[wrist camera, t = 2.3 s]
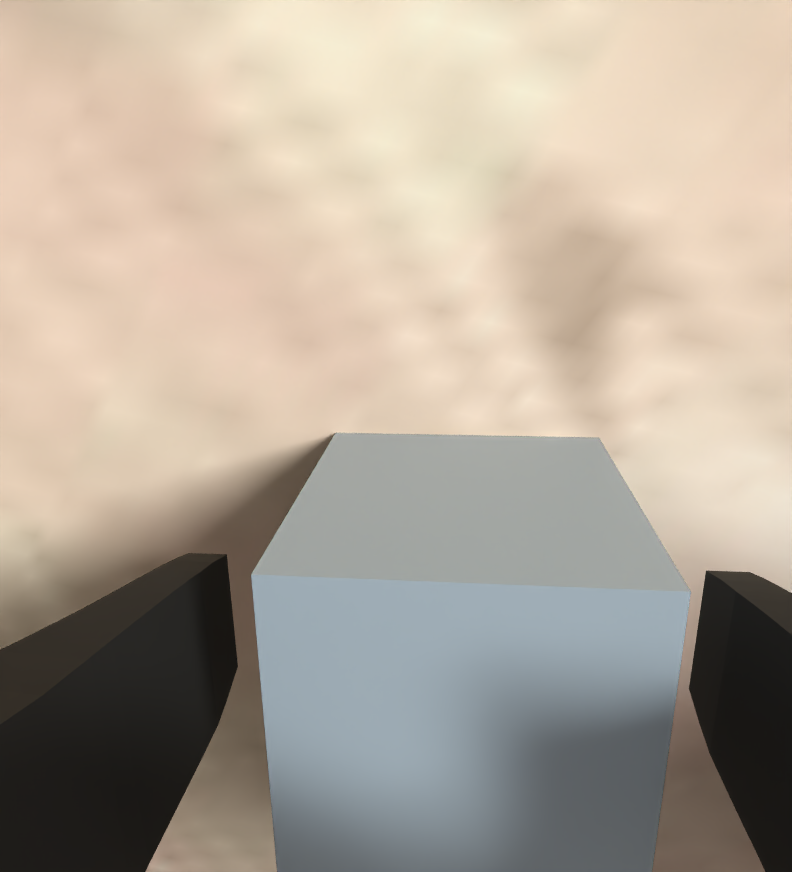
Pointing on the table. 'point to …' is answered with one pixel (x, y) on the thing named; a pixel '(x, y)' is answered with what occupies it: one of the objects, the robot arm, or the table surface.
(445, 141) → the table surface
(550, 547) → the slate block
